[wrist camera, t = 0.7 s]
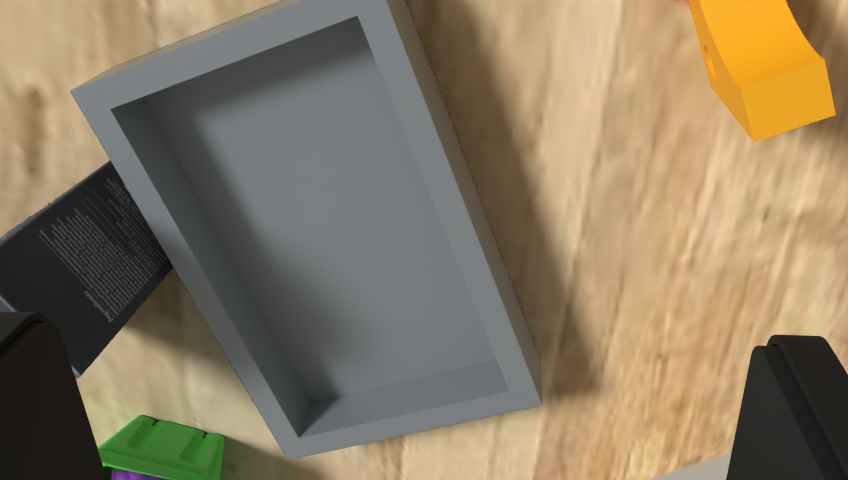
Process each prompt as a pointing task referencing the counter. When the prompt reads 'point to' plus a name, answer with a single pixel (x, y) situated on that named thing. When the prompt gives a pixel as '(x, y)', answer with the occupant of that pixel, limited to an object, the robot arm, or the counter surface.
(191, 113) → the tray
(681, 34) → the counter surface
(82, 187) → the box
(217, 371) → the counter surface
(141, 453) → the fruit basket
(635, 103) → the counter surface
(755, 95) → the orange toy block
